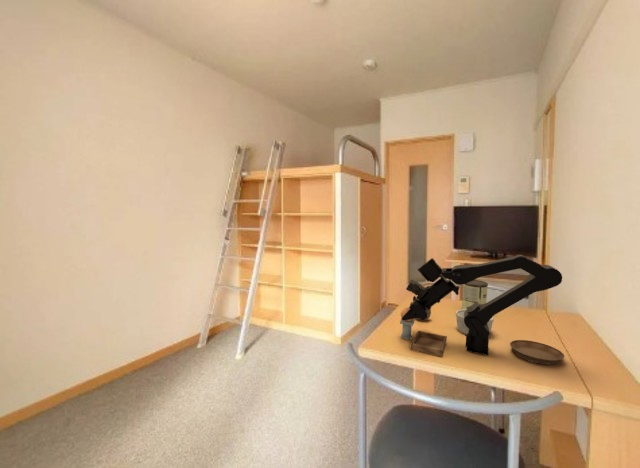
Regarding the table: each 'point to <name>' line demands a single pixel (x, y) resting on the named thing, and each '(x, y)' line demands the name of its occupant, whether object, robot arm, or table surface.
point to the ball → (405, 313)
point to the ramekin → (462, 325)
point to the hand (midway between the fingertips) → (403, 317)
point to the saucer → (536, 352)
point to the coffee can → (474, 293)
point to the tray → (429, 343)
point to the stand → (406, 329)
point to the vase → (427, 316)
